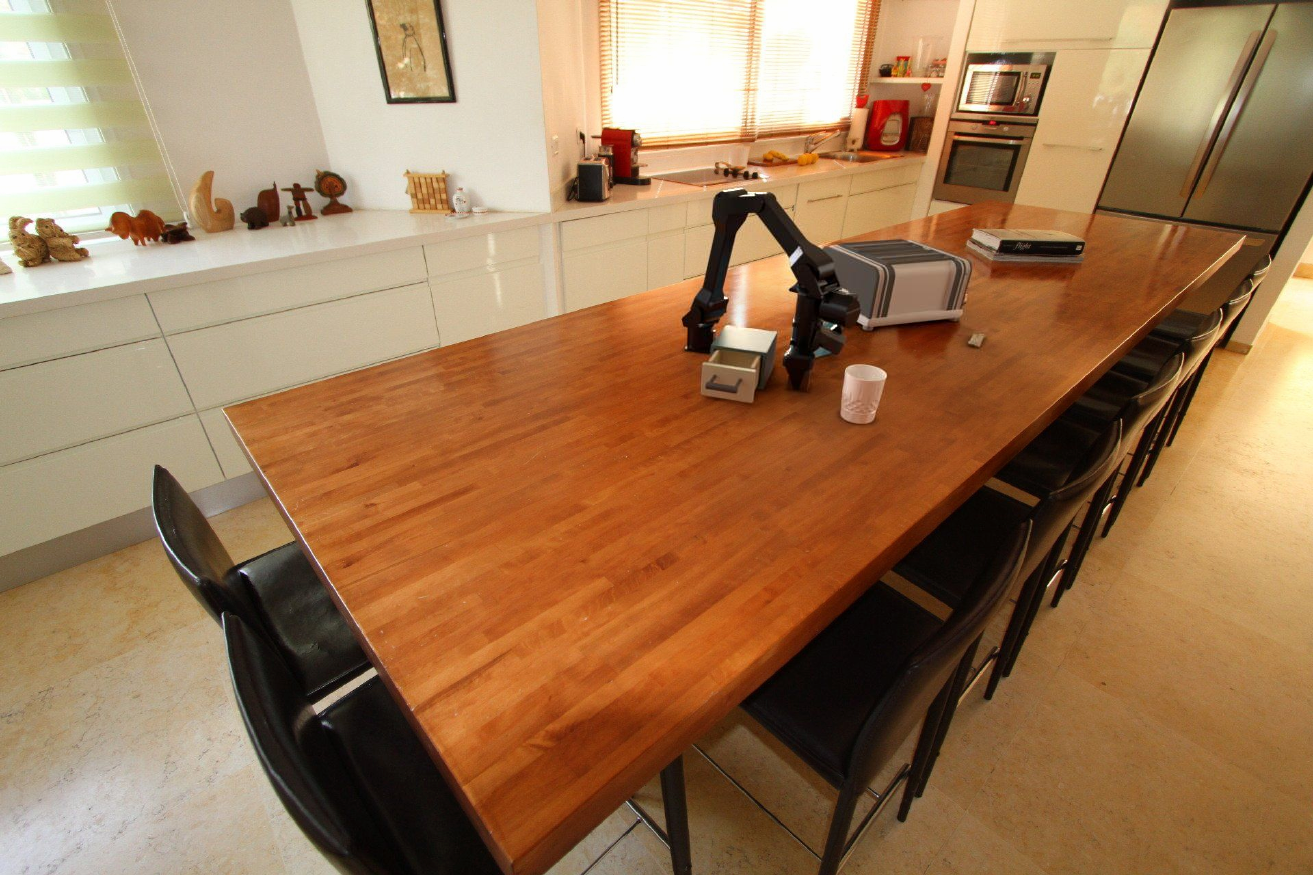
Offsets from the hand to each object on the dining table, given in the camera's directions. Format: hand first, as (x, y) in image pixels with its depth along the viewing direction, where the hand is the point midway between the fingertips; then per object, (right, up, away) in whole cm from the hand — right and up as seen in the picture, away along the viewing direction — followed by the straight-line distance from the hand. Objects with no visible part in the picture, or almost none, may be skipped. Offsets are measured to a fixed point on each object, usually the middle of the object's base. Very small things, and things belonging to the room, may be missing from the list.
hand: (798, 382), depth 134 cm
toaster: (+39, +27, +47) cm, 66 cm away
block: (0, -1, +1) cm, 1 cm away
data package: (+7, +8, +17) cm, 20 cm away
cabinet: (-12, +3, +6) cm, 14 cm away
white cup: (+9, -8, -11) cm, 17 cm away
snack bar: (+53, +13, +24) cm, 60 cm away
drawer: (-16, -3, -4) cm, 17 cm away
